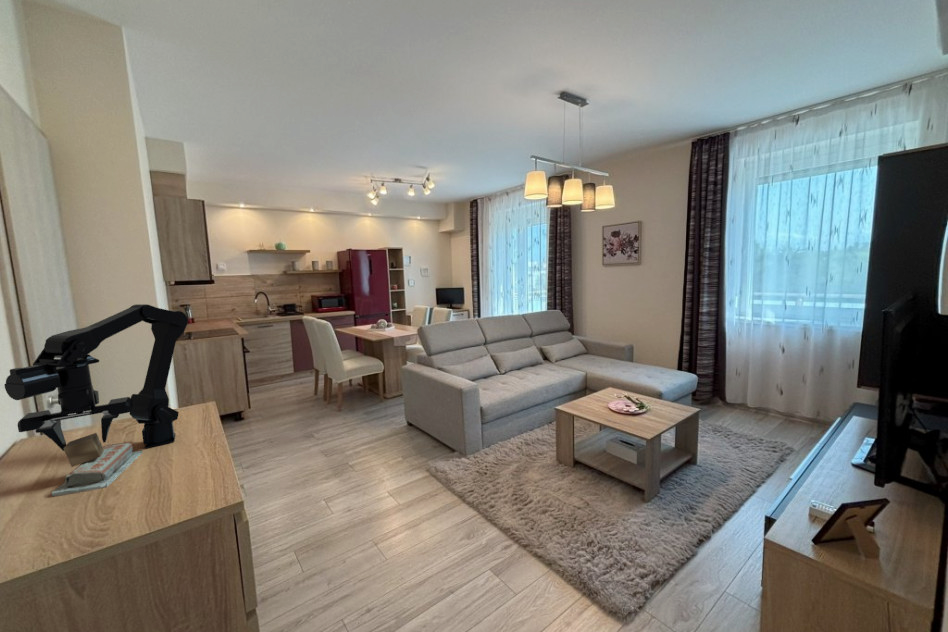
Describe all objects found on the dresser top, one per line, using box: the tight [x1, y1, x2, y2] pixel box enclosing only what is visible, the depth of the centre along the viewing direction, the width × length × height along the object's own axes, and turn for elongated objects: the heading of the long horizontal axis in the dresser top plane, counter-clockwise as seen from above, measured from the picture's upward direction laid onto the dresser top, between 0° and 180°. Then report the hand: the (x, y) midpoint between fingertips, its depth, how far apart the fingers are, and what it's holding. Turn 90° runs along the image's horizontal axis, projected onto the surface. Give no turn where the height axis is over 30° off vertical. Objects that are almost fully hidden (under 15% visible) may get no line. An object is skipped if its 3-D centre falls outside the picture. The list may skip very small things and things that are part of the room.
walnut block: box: [63, 432, 104, 468], centre depth 93 cm, size 5×5×5 cm
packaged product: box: [50, 442, 144, 497], centre depth 94 cm, size 18×5×10 cm
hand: (85, 446), depth 93 cm, fingers open, 7 cm apart
